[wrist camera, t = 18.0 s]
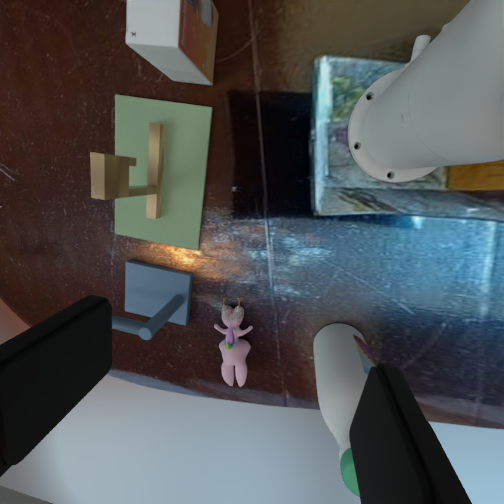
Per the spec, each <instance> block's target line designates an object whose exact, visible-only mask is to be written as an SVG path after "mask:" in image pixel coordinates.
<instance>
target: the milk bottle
mask: <svg viewBox="0 0 504 504" xmlns="http://www.w3.org/2000/svg"><path fill="white" fill-rule="evenodd" d="M314 359H315V371H316V382H317V392H318V400H319V405H320V409H321V413H322V415H323V418H324V420H325V422H326V424H327V426H328V427H329V429H330V430H331V432H332V433H333V435H334V436H335V438H336V440H337V442H338V444H339V446H340V449H341V450H340V453H339V459H340V466H341V473H342V478H343V481H344V483H345V485H346V487H347V488H348V489H349V490H350V491H351V492H352V493H354V494H355V495H357V496H359V497H360V494H359V489H358V483H357V478H356V473H355V467H354V462H353V457H352V451H351V446H350V440H349V431H350V426H351V423H352V420H353V417H354V414H355V412H356V409H357V406H358V403H359V400H360V397H361V394H362V391H363V388H364V385H365V383H366V380H367V377H368V374H369V371H370V369H371V367H372V366H374V367H375V365H374V362H373V359H372V357H371V354H370V352H369V349H368V347H367V344H366V342H365V340H364V338H363V336H362V334H361V333H360V332H359V331H358V330H357V329H355V328H354V327H352V326H350V325H347V324H342V323H335V324H330V325H327V326H325V327H324V328H322V329H321V330H320V331H319V332H318V333H317V335H316V337H315V339H314Z"/></svg>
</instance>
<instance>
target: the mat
mask: <svg viewBox="0 0 504 504" xmlns="http://www.w3.org/2000/svg"><path fill="white" fill-rule="evenodd" d="M212 109H213V108H212V107H205V106H198V105H190V104H183V103H175V102H168V101H161V100H153V99H146V98H138V97H131V96H123V95H116V94H115V155H121V156H128V157H134V158H136V159H137V161H136V166H129V186H142V185H147V177H148V150H149V123H150V122H152V123H159V124H162V125H165V141H164V160H163V179H162V198H161V217H160V218H158V219H152V218H147V217H146V204H147V195H144V196H135V197H126V198H118V199H115V234H119V235H124V236H128V237H133V238H138V239H143V240H148V241H153V242H158V243H163V244H168V245H173V246H178V247H182V248H187V249H192V250H197V251H198V250H199V240H200V230H201V220H202V210H203V200H204V190H205V180H206V170H207V159H208V149H209V139H210V129H211V119H212Z"/></svg>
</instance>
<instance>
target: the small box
mask: <svg viewBox="0 0 504 504" xmlns="http://www.w3.org/2000/svg"><path fill="white" fill-rule="evenodd" d="M218 18H219V14H218V12H217V10H216V8H215V6H214V3H213V1H212V0H127V25H126V44H127V45H128V46H129V47H131V48H132V49H133V50H135V51H136V52H137V53H138V54H140V55H141V56H142V57H144V58H145V59H146V60H148V61H149V62H150V63H151V64H153V65H154V66H155V67H157V68H158V69H159V70H160V71H162V72H163V73H164V74H165V75H167V76H168V77H169V78H171V79H172V80H173V81H179V82H187V83H196V84H206V85H213V74H214V61H215V50H216V39H217V28H218Z"/></svg>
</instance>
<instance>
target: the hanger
mask: <svg viewBox="0 0 504 504" xmlns="http://www.w3.org/2000/svg"><path fill="white" fill-rule="evenodd" d="M164 141H165V125H162V124H159V123H152V122H150V123H149V150H148V177H147V185H142V186H129V166H136V161H137V159H136V158H134V157H128V156H121V155H113V154H104V153H96V152H90V158H91V197H92V198H97V199H102V200H109V199H118V198H126V197H135V196H144V195H147V204H146V217H147V218H152V219H158V218H160V217H161V198H162V179H163V160H164Z"/></svg>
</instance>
